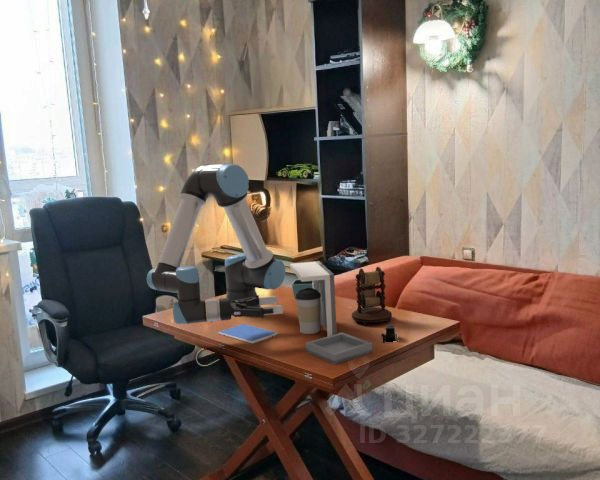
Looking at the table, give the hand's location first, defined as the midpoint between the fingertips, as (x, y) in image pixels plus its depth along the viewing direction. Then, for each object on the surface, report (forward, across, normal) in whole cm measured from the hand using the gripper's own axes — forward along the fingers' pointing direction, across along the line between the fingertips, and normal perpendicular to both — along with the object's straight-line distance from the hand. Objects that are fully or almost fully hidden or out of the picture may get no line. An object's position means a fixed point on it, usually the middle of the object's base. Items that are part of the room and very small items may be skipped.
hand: (280, 304), depth 205 cm
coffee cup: (+10, -1, -11) cm, 15 cm away
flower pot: (+15, -39, -11) cm, 44 cm away
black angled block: (+35, +16, -12) cm, 40 cm away
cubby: (+12, -1, -11) cm, 16 cm away
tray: (+15, +24, -11) cm, 30 cm away
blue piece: (-12, -5, -12) cm, 17 cm away
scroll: (+35, -5, -11) cm, 37 cm away
